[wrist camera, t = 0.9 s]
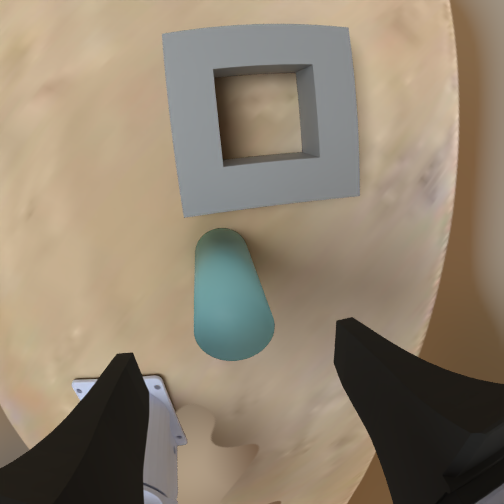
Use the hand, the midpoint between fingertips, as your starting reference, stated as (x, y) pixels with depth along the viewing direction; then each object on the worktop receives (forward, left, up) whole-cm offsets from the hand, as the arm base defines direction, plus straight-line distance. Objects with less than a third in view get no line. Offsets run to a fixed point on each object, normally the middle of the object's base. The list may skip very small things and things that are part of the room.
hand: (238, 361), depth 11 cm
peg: (0, 0, -10) cm, 10 cm away
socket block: (+8, -3, -10) cm, 13 cm away
